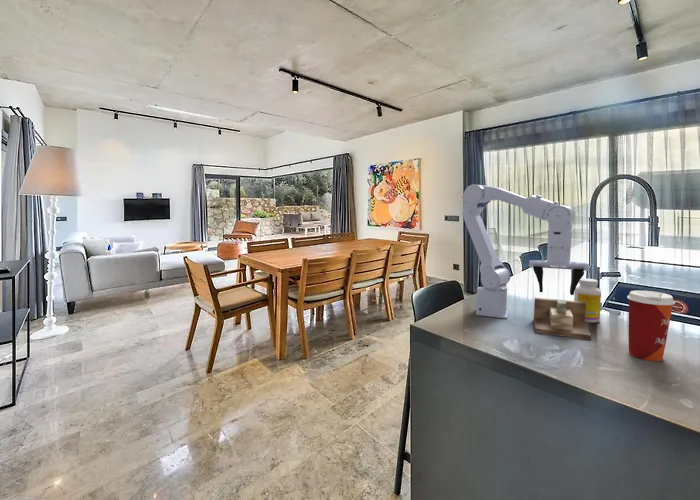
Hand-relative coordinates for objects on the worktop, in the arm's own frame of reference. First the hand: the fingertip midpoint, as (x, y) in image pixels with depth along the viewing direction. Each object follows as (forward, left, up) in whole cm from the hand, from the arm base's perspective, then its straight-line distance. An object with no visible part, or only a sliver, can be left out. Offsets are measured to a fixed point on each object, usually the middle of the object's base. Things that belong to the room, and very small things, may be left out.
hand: (556, 292), depth 96 cm
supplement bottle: (+9, +11, -11) cm, 18 cm away
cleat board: (+1, -1, -10) cm, 10 cm away
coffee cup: (+17, -13, -11) cm, 24 cm away
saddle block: (+1, -2, -9) cm, 9 cm away
